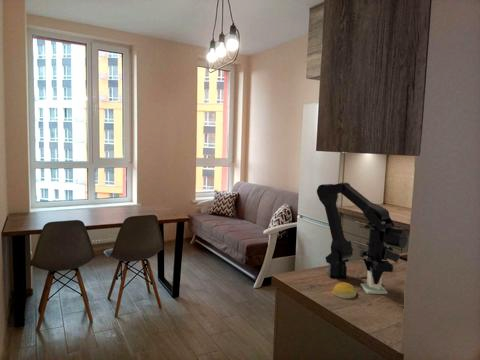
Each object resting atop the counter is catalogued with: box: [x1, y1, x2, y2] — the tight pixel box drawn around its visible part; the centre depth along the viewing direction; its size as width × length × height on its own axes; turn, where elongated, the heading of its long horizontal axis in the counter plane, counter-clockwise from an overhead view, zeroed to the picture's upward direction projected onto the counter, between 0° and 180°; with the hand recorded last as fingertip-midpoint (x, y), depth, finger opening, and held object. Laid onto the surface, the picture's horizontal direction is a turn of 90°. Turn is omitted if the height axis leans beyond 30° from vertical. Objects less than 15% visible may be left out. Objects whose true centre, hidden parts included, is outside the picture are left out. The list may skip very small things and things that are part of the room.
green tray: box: [360, 282, 388, 295], centre depth 135 cm, size 7×7×1 cm
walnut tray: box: [357, 275, 384, 287], centre depth 143 cm, size 7×7×1 cm
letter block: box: [366, 271, 383, 288], centre depth 135 cm, size 4×4×5 cm
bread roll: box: [331, 281, 357, 299], centre depth 131 cm, size 8×9×4 cm
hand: (373, 281), depth 135 cm, fingers closed on letter block, 4 cm apart
